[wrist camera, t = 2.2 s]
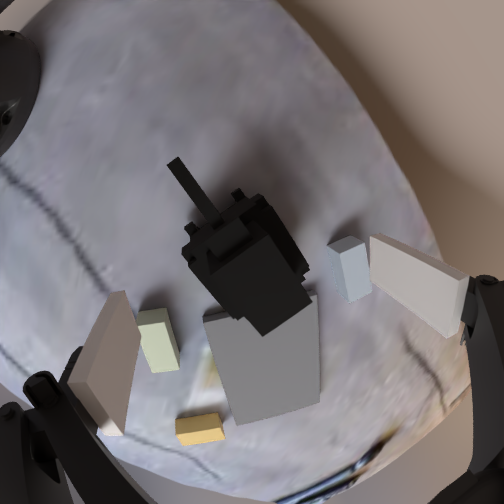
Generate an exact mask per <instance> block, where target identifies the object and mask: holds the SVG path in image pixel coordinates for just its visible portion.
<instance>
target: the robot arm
mask: <svg viewBox="0 0 504 504" xmlns="http://www.w3.org/2000/svg"><path fill="white" fill-rule="evenodd" d="M13 1H14V0H0V14H1V13H2V12H3V10H4V9H6V8H7V7H8V6H9V5H10V4H11V3H12V2H13ZM39 80H40V57H39V53H38V50H37V48H36V46H35V45H34V43H33V42H32V41H31V40H30V39H28V38H27V37H25V36H24V35H22V34H20V33H18V32H15V31H10V30H4V31H0V157H1V156H2V155H3V154H4V153H5V152H6V151H7V150H8V149H9V148H10V146H11V145H12V144H13V142H14V141H15V140H16V138H17V137H18V135H19V134H20V132H21V130H22V128H23V127H24V125H25V123H26V121H27V119H28V117H29V114H30V112H31V110H32V107H33V104H34V101H35V98H36V95H37V91H38V86H39ZM370 281H371V282H372V283H374V284H375V285H376V286H378V287H379V288H381V289H382V290H383V291H385V292H386V293H387V294H389V295H390V296H391V297H393V298H394V299H396V300H397V301H398V302H400V303H401V304H402V305H404V306H405V307H406V308H408V309H409V310H410V311H412V312H413V313H414V314H416V315H417V316H418V317H419V318H421V319H422V320H423V321H425V322H426V323H427V324H429V325H430V326H431V327H432V328H434V329H435V330H436V331H438V332H439V333H440V334H441V335H443V336H444V337H445V338H446V339H447V338H449V337H451V336H452V335H454V334H456V333H457V332H458V329H459V325H460V321H463V322H464V323H465V328H464V331H463V335H462V338H461V341H460V345H462V344H463V341H464V340H465V341H466V343H465V345H466V347H467V353H468V360H469V368H470V377H471V387H472V401H473V456H472V460H471V462H470V465H469V467H468V469H467V472H465V473H464V474H463V475H462V476H460V477H459V478H458V479H457V480H455V481H454V482H453V483H451V484H450V485H449V486H447V487H446V488H445V489H443V490H442V491H441V492H440V493H439V494H437V496H435V497H434V498H433V499H432V500H431V501H430V502H429V503H428V504H504V281H499V280H498V279H496V278H495V277H493V276H490V275H479V276H477V277H476V278H473V277H471V276H469V275H467V274H465V273H463V272H461V271H459V270H458V269H455V268H454V267H452V266H450V265H447V264H446V263H444V262H442V261H440V260H437V259H435V258H433V257H431V256H429V255H427V254H425V253H423V252H421V251H419V250H417V249H414V248H412V247H410V246H408V245H406V244H404V243H401V242H399V241H397V240H395V239H392V238H390V237H388V236H386V235H383V234H381V233H379V234H375V235H371V236H370ZM141 337H142V336H141V333H140V331H139V328H138V326H137V323H136V321H135V318H134V316H133V313H132V310H131V308H130V305H129V302H128V299H127V297H126V294H125V291H124V290H123V291H118V292H113V293H111V294H110V295H109V297H108V299H107V301H106V303H105V305H104V307H103V308H102V310H101V312H100V314H99V316H98V318H97V320H96V322H95V324H94V326H93V328H92V330H91V332H90V334H89V336H88V338H87V340H86V342H85V344H84V346H79V347H78V348H77V349H76V350H75V351H74V352H73V353H72V355H71V357H70V359H69V361H68V364H67V365H66V367H65V370H64V371H63V373H62V376H61V378H60V380H59V382H57V381H56V379H55V378H54V376H53V374H51V373H50V372H49V371H40V372H37V373H35V374H33V375H32V376H31V377H29V378H28V379H27V381H26V382H25V383H24V386H23V393H24V394H25V395H26V397H27V398H28V399H29V401H30V402H31V404H32V405H33V406H34V407H35V408H33V409H29V410H26V411H24V410H23V409H22V408H21V406H20V405H19V404H18V403H17V402H9V403H7V404H4V405H3V406H2V407H1V408H0V504H74V503H73V500H72V497H71V494H70V491H69V487H68V484H67V480H66V477H65V473H64V470H65V472H66V474H67V475H68V477H69V479H70V480H71V482H72V484H73V486H74V487H75V489H76V490H77V492H78V494H79V495H80V497H81V498H82V500H83V501H84V503H85V504H157V502H155V501H154V500H153V499H152V498H151V497H150V496H149V495H148V494H147V493H146V492H145V491H144V490H143V489H142V488H141V487H140V486H139V485H138V484H137V482H136V481H135V480H134V479H133V478H132V477H131V476H130V475H129V474H128V473H127V472H126V470H125V469H124V468H123V467H122V466H121V465H120V463H119V462H118V461H117V460H116V459H115V457H114V456H113V455H112V454H111V452H110V451H109V450H108V449H107V447H106V446H105V445H104V444H103V442H102V441H101V440H100V438H99V437H98V436H97V435H96V434H97V429H98V427H99V428H100V429H101V431H102V432H103V433H104V434H105V436H121V435H124V430H125V422H126V416H127V409H128V403H129V397H130V391H131V386H132V380H133V375H134V370H135V365H136V360H137V355H138V350H139V346H140V341H141ZM63 468H64V469H63Z"/></svg>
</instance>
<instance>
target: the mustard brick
mask: <svg viewBox="0 0 504 504" xmlns="http://www.w3.org/2000/svg"><path fill="white" fill-rule="evenodd" d="M175 429H176V436H177V438H178V439H179V441H180V442H181V444H182V445H183V446H186V445H193V444H200V443H206V442H212V441H217V440H223V439H225V435H224V430H223V424H222V422H221V420H220V417H219V415H218V412H216V413H211V414H205V415H200V416H194V417H188V418H181V419H175Z"/></svg>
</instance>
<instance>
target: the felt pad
mask: <svg viewBox="0 0 504 504" xmlns="http://www.w3.org/2000/svg"><path fill="white" fill-rule="evenodd" d="M307 294H308V295H309V297H310V298H311V300H312V301H313V302H312V303H311V304H310V305H308V306H307V307H305V308H304V309H303V310H301V311H300V312H298V313H297V314H296V315H294V316H293V317H291V318H290V319H288V320H287V321H286V322H284V323H283V324H281V325H280V326H278V327H277V328H275V329H274V330H272V331H271V332H269V333H268V334H266V335H265V336H263V337H262V336H261V335H260V334H259V333H258V331H257V330H256V329H255V328H254V327H253V326H252V325H251V323H250V322H249V321H248V320H247V319H246V318H245V317H242V318H241V319H239V320H238V321H237V320H236V319H232V317H231V316H230V315H229V314H228V313H227V312H222V313H218V314H213V315H209V316H204V317H203V324H204V327H205V331H206V334H207V338H208V341H209V344H210V348H211V351H212V354H213V357H214V360H215V364H216V367H217V370H218V373H219V376H220V379H221V382H222V385H223V388H224V391H225V394H226V397H227V400H228V403H229V406H230V408H231V411H232V414H233V417H234V420H235V422H236V425H237V426H238V425H243V424H247V423H251V422H255V421H259V420H263V419H267V418H271V417H274V416H278V415H281V414H285V413H288V412H292V411H295V410H298V409H301V408H304V407H307V406H310V405H313V404H316V403H319V402H320V365H319V327H318V304H317V294H316V293H315V292H314V291H313V290H311V291H307Z"/></svg>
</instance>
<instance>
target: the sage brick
mask: <svg viewBox="0 0 504 504" xmlns="http://www.w3.org/2000/svg"><path fill="white" fill-rule="evenodd" d="M136 323H137V326H138V328H139V331H140V333H141V336H142V337H141V341H140V343H141V346H142V349H143V351H144V354H145V356H146V359H147V361H148V364H149V366H150V368H151V371H152V373H158V372H166V371H173V370H180V353H179V350H178V346H177V343H176V340H175V337H174V333H173V330H172V327H171V323H170V320H169V316H168V313H167V309H166V308H159V309H153V310H146V311H140V312H138V315H137V319H136Z"/></svg>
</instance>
